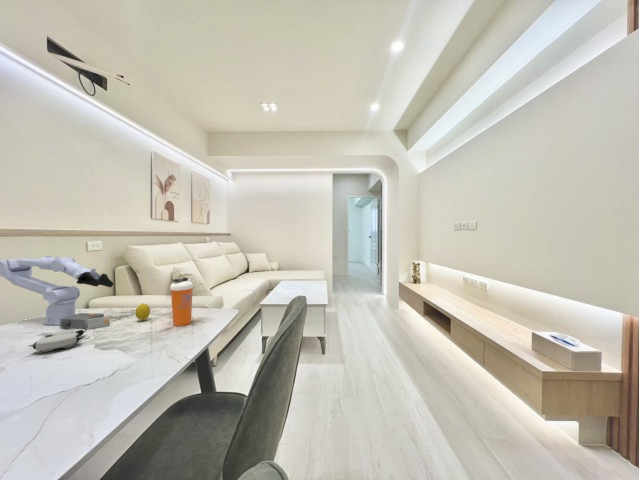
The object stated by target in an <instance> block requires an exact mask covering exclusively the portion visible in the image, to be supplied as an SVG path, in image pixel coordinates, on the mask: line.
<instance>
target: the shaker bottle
mask: <svg viewBox="0 0 640 480" xmlns="http://www.w3.org/2000/svg"><path fill="white" fill-rule="evenodd" d="M172 281H173V282H172V283H171V284H170V286H169V290H170V296H171V297H170V299H171V311H172V313H171V314H172V323H173V326H174V327H182V326H183V327H184V326H187V325H189V324H191V323H192V315H193V314H192V312H193V311H192V310H193V289H194V283H193V282H192V278H190V277H182V278H174V279H172Z"/></svg>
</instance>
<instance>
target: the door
mask: <svg viewBox="0 0 640 480" xmlns="http://www.w3.org/2000/svg"><path fill="white" fill-rule="evenodd" d="M108 326H110V316H109V315H108V316H104V317H101V318H94V319H86V320H85V329H84V330H87V329H88V330H89V329H95V328H101V327H108Z"/></svg>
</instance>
